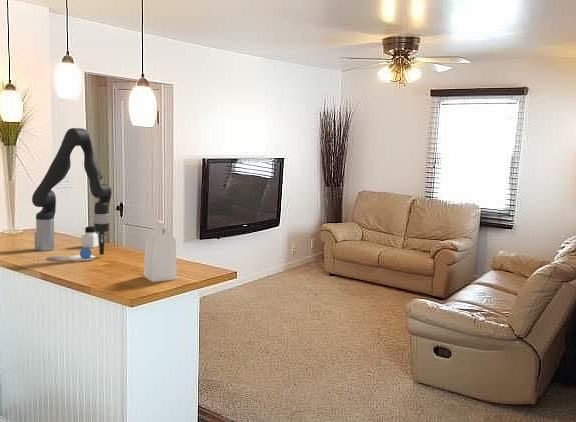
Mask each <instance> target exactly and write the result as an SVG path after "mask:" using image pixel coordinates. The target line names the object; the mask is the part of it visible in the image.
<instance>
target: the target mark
mask: <svg viewBox="0 0 576 422" xmlns="http://www.w3.org/2000/svg"><path fill="white" fill-rule="evenodd" d="M94 259H97V256H95V255H92V254H91V256H90V257H89V258H87V259H84V258H82V257H81V256H80V254H76V255H71V256H68V257H67V259H66V260H69V261H74V262H75V261H76V262H77V261H82V262H84V261H91V260H94Z"/></svg>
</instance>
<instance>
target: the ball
mask: <svg viewBox="0 0 576 422" xmlns="http://www.w3.org/2000/svg"><path fill="white" fill-rule="evenodd" d="M79 255H80V256H81V257H82V258H84V259H87V258H89V257H90V256H91V255H92V251H91V248H82V249H80V251H79Z"/></svg>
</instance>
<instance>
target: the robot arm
mask: <svg viewBox="0 0 576 422" xmlns="http://www.w3.org/2000/svg"><path fill="white" fill-rule="evenodd" d="M89 133H90V132H88V130H87V129H85V128H82V127H81V128H79V127H78V128H77V127H73V128H69V129H68V130H66V132H65V134H64V136H63V139H62V141H61V145H60V147H59V149H58V151H57V153H56V155H55V157H54V158H53V161H52V162H51V163H50V166H49V168H48V169H47V172H46V173H45V175H44V177H43V179H42V181H41V182H40V184H38V186H37V187H36V189H35V190H34V191H33V194H32V197H31V202H32V205H34V206H35V207H37V208H41V210H40V211H39V212H37V213H35V214H36V215H35V232H34V250H36V251H43V252H45V251H53V250H55V215H56V211H57V210H56V209H57V207H56V205H57V197H56V194H55V192H54V191H53V190H52V189H53V188H55V186H57V185H58V184H59V183H61V182H62V181H63V180H64V179H65V178H66V176H67V175H68V173H69V171H70V169H71V165H72V163H71V155H72V152H73V150H74V149H75V147H81V150H82V152H83V156H84V158H83V160H84V161H83V167H84V168H83V169H84V171H85V173H86V176H87V178H88V180H89V181H88V182H89V188H90V193H91V195H92V197H94V198H96V199H99V200H98V201H97V202H95V204H94V218H93V226H94V231H96V232H97V234H98V243H99V246H98V248H99V249H98V251H99V255H102V256H103V255H104V254H105V250H104V249H105V244H106V236H107V235H106V234H105V233H106V232H109V231H110V213H109V206H110V202H111V200H112V199H111V198H112V192H113V191H112V188H111V186H110V184H106V183H102V184H101V181H102V179H103V174H102V172H101V169H100V167H99V164H98V162H97V160H96V156H95V152H94V151H95V150H94V148H93V145H92V139H91V135H90V134H89Z"/></svg>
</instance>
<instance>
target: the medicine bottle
mask: <svg viewBox="0 0 576 422" xmlns="http://www.w3.org/2000/svg"><path fill="white" fill-rule="evenodd" d="M98 234H99V233H96V231H94V225H87V226H85V227H84V234H82V235H81V248H82V249H83V248H88V249H94V248H97V247H99V243H98Z"/></svg>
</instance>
